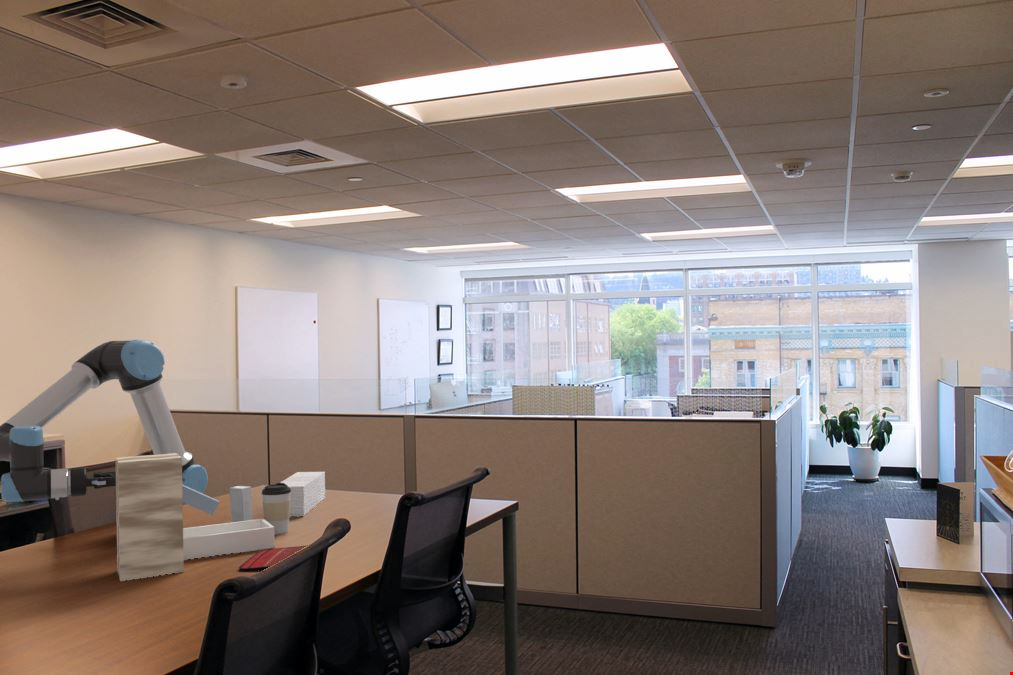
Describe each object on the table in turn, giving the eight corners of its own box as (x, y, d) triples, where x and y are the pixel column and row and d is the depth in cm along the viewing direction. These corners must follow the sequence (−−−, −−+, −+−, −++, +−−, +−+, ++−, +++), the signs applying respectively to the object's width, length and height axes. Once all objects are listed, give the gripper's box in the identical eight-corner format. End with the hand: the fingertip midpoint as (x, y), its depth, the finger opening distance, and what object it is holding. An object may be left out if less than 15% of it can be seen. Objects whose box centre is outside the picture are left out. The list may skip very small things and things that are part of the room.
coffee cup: (283, 535, 249) (282, 487, 249) (256, 534, 251) (255, 486, 251) (296, 529, 258) (296, 482, 258) (270, 528, 259) (270, 481, 260)
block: (124, 475, 223) (132, 462, 224) (210, 512, 234) (217, 500, 235) (125, 477, 219) (133, 464, 220) (212, 515, 230) (219, 502, 231)
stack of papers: (297, 500, 308) (297, 472, 308) (325, 499, 308) (324, 471, 308) (273, 518, 276) (272, 486, 276) (304, 517, 276) (303, 486, 276)
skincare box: (253, 522, 269) (252, 486, 269) (243, 525, 265) (242, 488, 265) (239, 521, 272) (239, 485, 272) (229, 523, 268) (229, 487, 268)
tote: (146, 553, 230) (146, 532, 230) (263, 538, 246) (263, 518, 246) (151, 565, 218) (151, 542, 218) (274, 547, 234) (274, 527, 234)
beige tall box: (117, 571, 212) (115, 457, 213) (178, 562, 220) (176, 453, 220) (120, 581, 203) (118, 462, 203) (183, 572, 210) (181, 457, 210)
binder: (317, 543, 230) (297, 564, 209) (317, 551, 230) (297, 572, 209) (261, 546, 231) (236, 567, 210) (262, 555, 230) (236, 576, 209)
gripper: (69, 491, 222) (160, 483, 233) (70, 501, 207) (167, 492, 219) (68, 464, 222) (160, 457, 234) (69, 472, 207) (167, 464, 219)
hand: (163, 474), depth 226 cm, fingers closed on block, 4 cm apart
